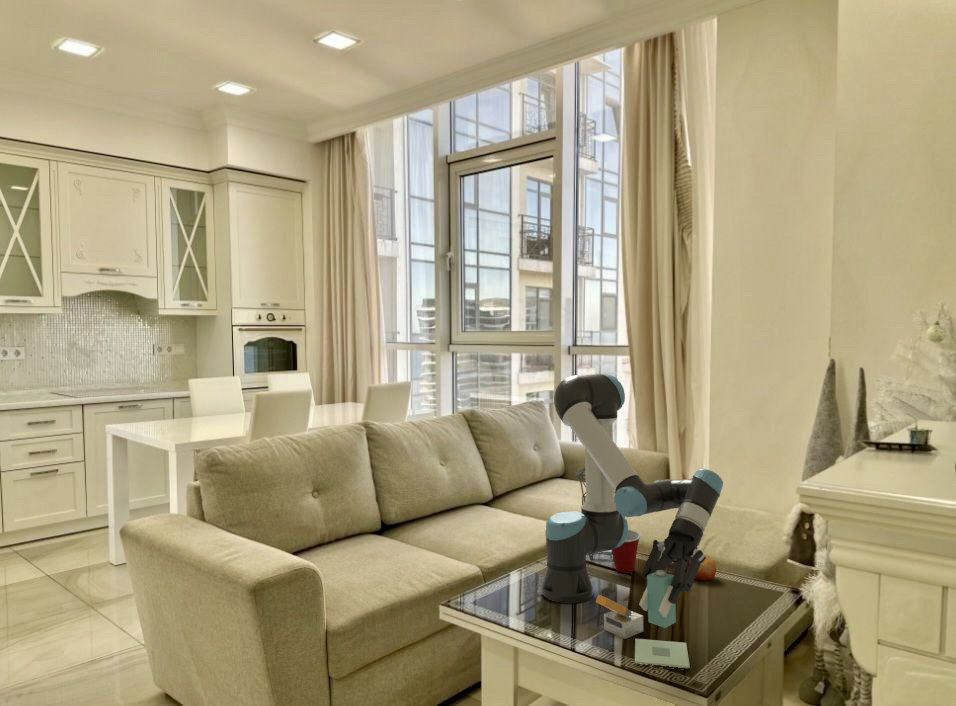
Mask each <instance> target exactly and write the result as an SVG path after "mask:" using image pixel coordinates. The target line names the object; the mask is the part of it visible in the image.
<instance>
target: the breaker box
mask: <svg viewBox="0 0 956 706" xmlns="http://www.w3.org/2000/svg"><path fill="white" fill-rule="evenodd" d="M630 611H631V616H630V617H628V616H624V615H621V614H619V613H617V612H614V611H612V610H610V611H608V612H605V613H603V630H604V631H606V632H608V633H611V634H613V635H615V636H617V637H619V638H622V639H624V640H626V639H628V638H630V637H633V636H635V635H638V634H640V633H643V632H644V615H642V614H640V613H637V612H635V611H632V610H630Z"/></svg>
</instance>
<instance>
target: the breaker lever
mask: <svg viewBox="0 0 956 706" xmlns="http://www.w3.org/2000/svg"><path fill="white" fill-rule="evenodd" d="M595 603H597V604H598V605H601V606H602V607H604V608H606V609H609V610H610V611H614V612H617V613H619V614H621V615H624V616H628V617H630V616H631V611H632V610H630V609H629V608H628V607H626V606H624V605H622V604H620V603H618V602H616V601H614V600H612V599H610V598H608V597H606V596H603V595H601V594H597V598H596V599H595Z"/></svg>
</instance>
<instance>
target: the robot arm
mask: <svg viewBox="0 0 956 706" xmlns="http://www.w3.org/2000/svg"><path fill="white" fill-rule="evenodd" d="M625 393H626V392H625V390H624V386H623V385H622V383H621V381H619V379H618V378H617V377H616V376H613V375H612V374H605V373H604V374H603V373H596V374H595V373H594V374H582V375H581V374H580V375H578V374H577V375H570V376H567V377H565V378H564V379H562V380H561V381H560V382H559V383H558V385H556V388H555V390H554V395H553V404H554V409H555V411H556V413H557V416H558V417H559V419H560V421H561V422H562V423H563V425H564V426H566V427H570V429H571V430H572V432H573V433H574V435H575V436H576V437H577V439H578V440H579V442H580V443H581V445H582V446H583V447H584V460H585V461H584V464H585V465H584V466H585V471H584V472H585V473H584V474H585V476H584V477H585V479H586V481H585V486H586V488H585V492H586V494H585V496H586V497H585V499H586V502H585V503H584V502H583V505H582V504H581V507H580V509H581V510H580V511H581V512H580V511H577V510H576V511H574V510H570V511H569V510H568V511H561V512H556V513H554V514H552V515H551V516H549V517H548V519H546V524H545V533H544V534H545V543H546V545H545V546H546V547H545V549H546V553H545V554H546V569H545V572H544V576H543V579H542V582H541V586H540V587H541V588H540V589H541V590H540V591H541V592H542V593H541V592H540V593H541V595H542V594H543V595H544V596H546V597H547V598H549V599H551V600H554V601H557V602H556V603H558V602H561V603H560V604H578V603H579V604H580V603H583V602H586V601H589V600H590V599H592V598H593V596H594V594H593V593H594V591H593V590H594V589H593V588H594V587H593V585H592V582H591V581H592V580H591V579H590V576H589V573H588V569H587V556H590V554H593V555H595V554H594V553H598V552H608V551H609V552H610V551H612V549H614V548H617V547H619V546H621V545H622V544H623V543H624V542H625V540H626V538H627V535H628V530H629V523H628V519H626V518H633V517H641V516H643V515H648V514H651V513H652V514H653V513H658V512H663V511H668V510H675V509H678V510H677V512H676V514H675V518H674V519H673V521H672V524H671V525H670V528H669V531H668V535H667V537H666V538H665V539H664V540H663V541H662V540H661V541H659V540H657V539H654V540H653V541H652V549H651V551H650V553H649V555H648V558H647V560H646V562H645V564H644V567H643V568H642V571H641V575H642V576H643V578H644V579H645V583H644V586H643V588H642V593H643V595H642V597H641V598H640V601H639V604H638V605H639V606H640V607H641V609H642V610H643V611H646V612H648V590H647V575H650V574H652V573H655V572H656V571H657V570H664V571H665V572H666V568H667V566H668V565H669V564H670V563H673V560H677V564H676V570H675V571H674V574H673V575H674V581H673V583H671V584H672V585H673V587H672V586H670V585H669V587H668V589H667V591H666V594H665V596H664V598H663V600H662V603H661V605H660V607H659V610H658V611H659V612H660V613H661V615H662V616H663V617H666V616H667V614H668V612H669V609H670V607H671V604H672V603H673V604H675V605H676V602H677V600H678V598H679V595H680V593H681V592H687V593H688V592H690V591H691V588H692V586H693V584H694V581H695V580H696V578H695V577H696V574H697V572H698V569H699V567H700V565H701V563H702V562H703V561H704V560H705V559H706V556H705V555H706V554H704V552H703V551H702V550H701V549H698V546H699V545H700V543H701V542H702V538H703V536H704V532H705V531H706V528H707V527H708V523H709V521H710V518H711V516H712V513H713V511H714V509H715V508H716V505H717V502H718V500H719V498H720V497H721V494H722V489H723V487H724V481H723V479H722V478H721V476H720V475H719V474H717V472H715V471H713V470H710V469H707V468H699V469H697V470H696V471H695V472H694V474H692V478H686V479H685V478H684V479H669V478H664V479H657V480H655V481H653V482H649V483H645V482H644V481H643V480H642V478H641V477H640V476H639V474H638V473H637V472H636V470H635V468H634V467H633V466H632V464H631V463H630V462H629V461H628V459H627V458H626V457H625V455H624V454H623V453H622V451H621V449H619V447H618V445H617V444H616V443H615V442H614V437H613V436H614V434H613V433H614V431H613V423H615V421H616V420H617V419H618V411H619V410H621V409H622V407H623V406H624V404H625V402H626V401H625V400H626V394H625ZM614 491H615V492H616V493H614ZM689 557H692V559H691V561H690V563H689V566H688V568H687V569H686V566H687V564H688V558H689Z"/></svg>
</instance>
